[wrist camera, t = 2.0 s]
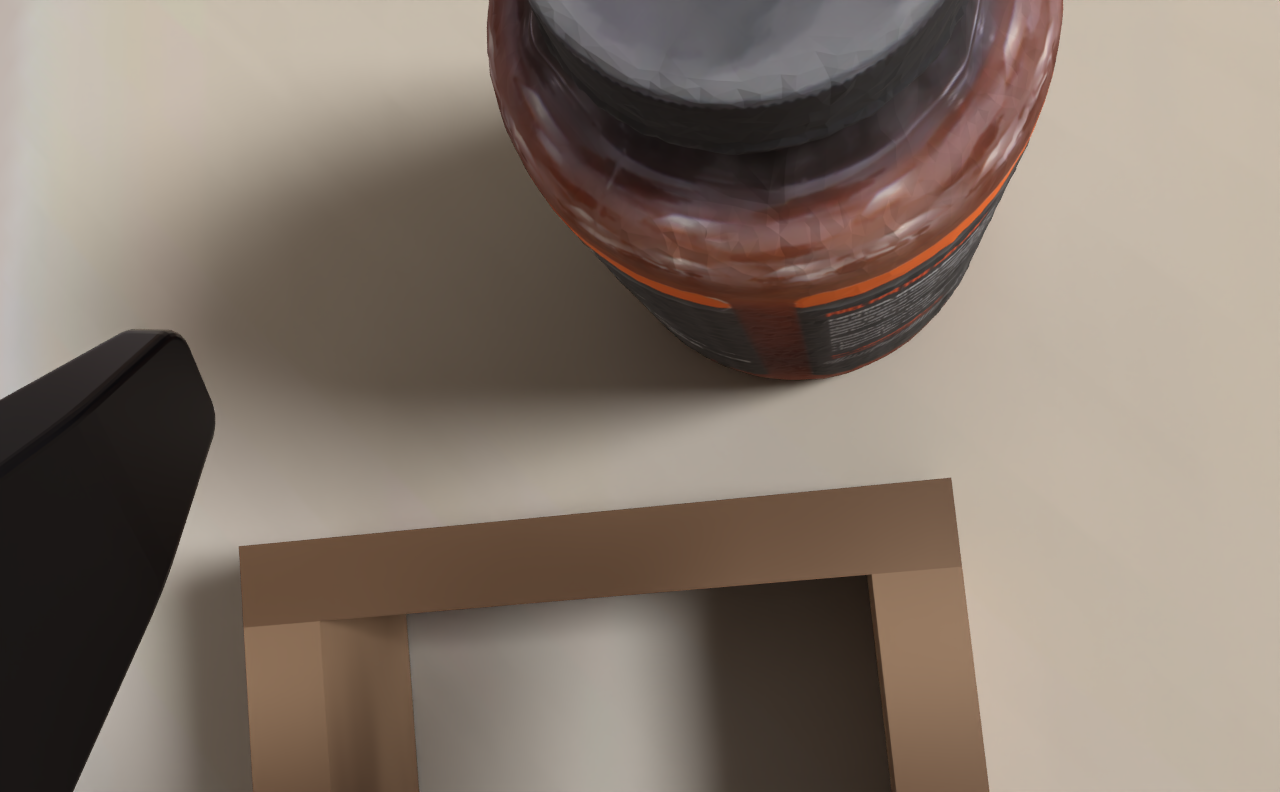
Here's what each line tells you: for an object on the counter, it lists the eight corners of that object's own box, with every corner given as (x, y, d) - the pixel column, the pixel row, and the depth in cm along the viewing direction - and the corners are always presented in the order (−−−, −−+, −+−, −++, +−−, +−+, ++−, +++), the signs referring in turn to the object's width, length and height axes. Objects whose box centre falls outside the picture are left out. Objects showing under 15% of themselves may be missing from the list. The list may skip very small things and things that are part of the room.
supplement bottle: (1037, 128, 20) (1299, -358, 9) (876, 446, 20) (931, 372, 9) (719, -8, 21) (586, -594, 10) (566, 293, 21) (257, 52, 10)
